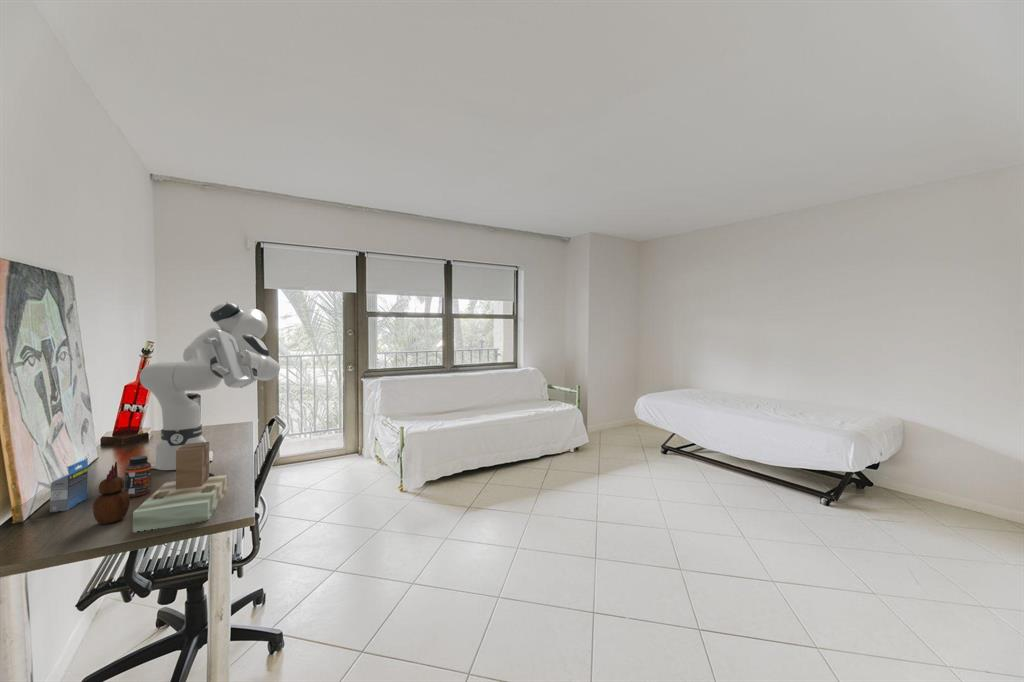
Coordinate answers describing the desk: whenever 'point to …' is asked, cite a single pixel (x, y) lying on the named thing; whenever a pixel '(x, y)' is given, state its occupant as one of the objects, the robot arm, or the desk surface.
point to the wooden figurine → (111, 499)
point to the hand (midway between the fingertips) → (209, 353)
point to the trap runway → (179, 505)
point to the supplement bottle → (138, 476)
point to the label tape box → (69, 488)
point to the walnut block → (192, 465)
